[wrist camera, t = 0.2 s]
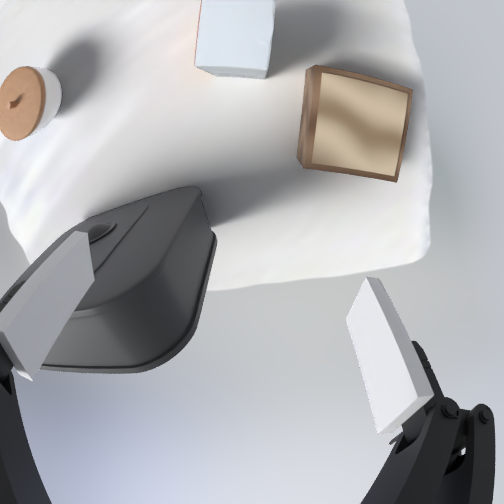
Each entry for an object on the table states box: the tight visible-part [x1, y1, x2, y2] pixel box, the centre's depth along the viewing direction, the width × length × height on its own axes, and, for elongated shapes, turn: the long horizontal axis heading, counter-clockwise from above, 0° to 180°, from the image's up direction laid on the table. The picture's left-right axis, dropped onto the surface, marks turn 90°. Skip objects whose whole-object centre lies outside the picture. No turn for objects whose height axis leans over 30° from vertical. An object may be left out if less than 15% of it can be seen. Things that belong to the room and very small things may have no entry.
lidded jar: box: [0, 66, 62, 141], centre depth 26 cm, size 11×11×9 cm
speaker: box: [0, 187, 217, 374], centre depth 30 cm, size 25×9×25 cm, turn 104°
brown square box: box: [297, 65, 413, 182], centre depth 30 cm, size 12×12×6 cm
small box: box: [194, 0, 276, 79], centre depth 23 cm, size 8×6×13 cm
